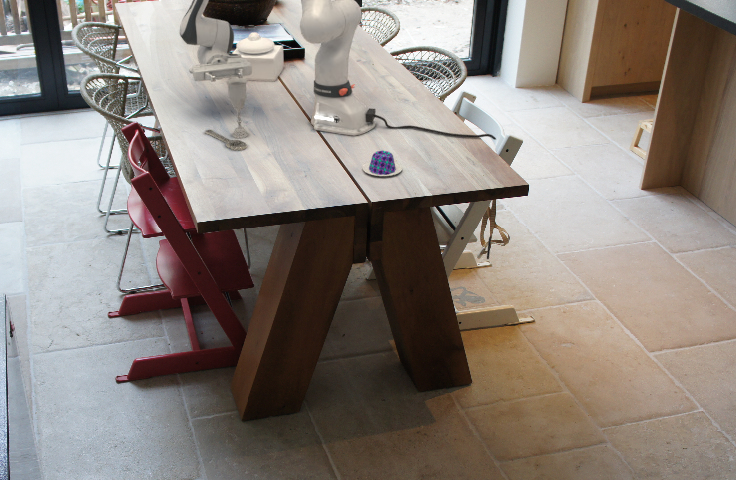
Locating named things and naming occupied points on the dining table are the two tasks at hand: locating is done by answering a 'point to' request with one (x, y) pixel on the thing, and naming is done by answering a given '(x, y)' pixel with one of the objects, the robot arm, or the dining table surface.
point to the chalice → (238, 101)
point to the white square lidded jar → (261, 57)
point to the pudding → (382, 164)
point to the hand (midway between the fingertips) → (227, 77)
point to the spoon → (228, 141)
